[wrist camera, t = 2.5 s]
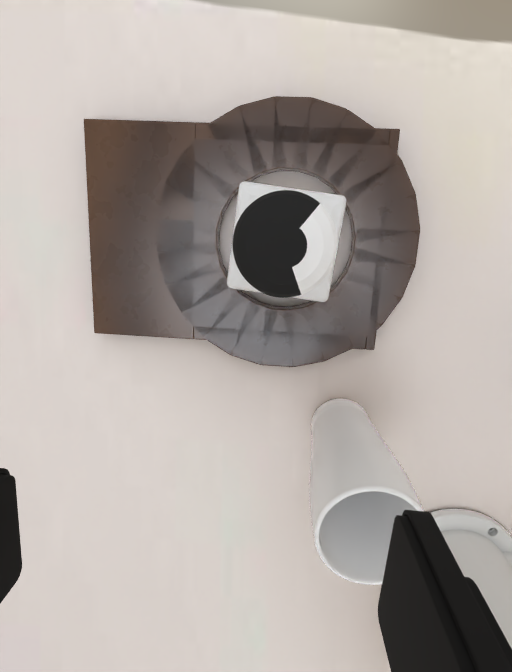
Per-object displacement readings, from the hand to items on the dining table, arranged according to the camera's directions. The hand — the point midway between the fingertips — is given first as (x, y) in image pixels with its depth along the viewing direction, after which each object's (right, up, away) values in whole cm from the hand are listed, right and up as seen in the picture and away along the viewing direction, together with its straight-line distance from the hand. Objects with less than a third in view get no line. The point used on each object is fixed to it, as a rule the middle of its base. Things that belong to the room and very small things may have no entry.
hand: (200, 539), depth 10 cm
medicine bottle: (+4, +13, +25) cm, 28 cm away
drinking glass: (+9, -3, +29) cm, 30 cm away
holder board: (+1, +13, +25) cm, 28 cm away
